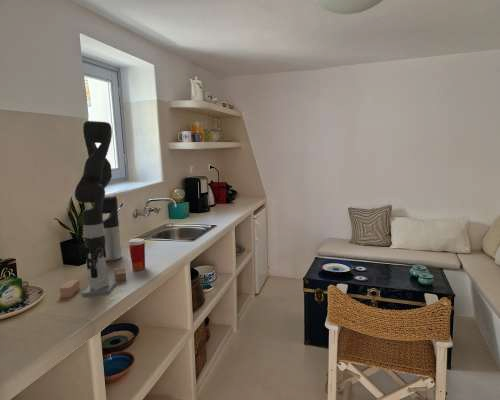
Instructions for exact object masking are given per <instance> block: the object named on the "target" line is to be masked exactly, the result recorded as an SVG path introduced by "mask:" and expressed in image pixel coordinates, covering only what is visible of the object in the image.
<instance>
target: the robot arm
mask: <svg viewBox="0 0 500 400" xmlns="http://www.w3.org/2000/svg"><path fill="white" fill-rule="evenodd" d="M112 129H113V128H112V126H111V124H110V122H107V121H97V120H86V121H85V122H84V123H83V127H82V131H83V132H82V133H83V138H84V142H85V146H86V151H87V159H86V160H85V163H84V168H83V174H82V175H81V178H80V180H79V182H78V183H77V184H76V187H75V191H74V198H75V200H76V201H77V202H78V203H80V204H88V203H90V204H91V203H93V205H94V206H93V207H88V208H85V209H84V210H82V221H83V240H84V247H85V248H86V249H89V253H86V255H85V257H86V260H87V264H86V268H87V269H90V270H91V278H97V277H98V274H97V263H99V258H100V257H101V256H102V257H105V260H106V261H108V262H110V261H117V260H120V259H121V258H122V257H123V255H122V244H121V234H120V225H119V224H120V222H119V221H120V220H119V209H118V208H119V206H118V198H117V196H116V195H114V194H111V195H110V194H109V195H106V189H105V188H106V187H107V186H108V185H109V184H110V182H111V180H112V178H113V174H112V166H111V163H110V161H109V160H108V158H107V155H108V153H109V149H110V144H111V142H112V137H113V130H112ZM97 144H99V146H97ZM104 214H110V215H109V216H108V217H107V218H105V219H104V218H103V215H104ZM94 260H95V261H94ZM89 263H90V265H89ZM87 269H86V270H87Z"/></svg>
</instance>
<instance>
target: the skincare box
mask: <svg viewBox="0 0 500 400" xmlns="http://www.w3.org/2000/svg"><path fill="white" fill-rule="evenodd" d="M94 261H95V260H94ZM85 262H86V265H87V259H86V261H85ZM89 265H90V263H89ZM86 270H87V275H88V281H89V285H90V287H91V289H93V290H98V289H100V288H103V287H105V286H108V285H109V282H110V281H109V276H108V267H107V262H106V260H105V257H102V256H101V257H100V258H99V263H97V274H98V277H97V278H91V270H90V269H86Z"/></svg>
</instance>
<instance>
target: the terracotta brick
mask: <svg viewBox="0 0 500 400" xmlns="http://www.w3.org/2000/svg"><path fill="white" fill-rule="evenodd" d="M80 289H81V286H80V279H71V280H68V281H66V282H65V283H64V284H63V285H61V286H60V287H59V294H60V295H59V296H60V298H61V299H62V298H72V297H73V296H74V295H75V294H76V293H77V292H78V291H79V290H80Z"/></svg>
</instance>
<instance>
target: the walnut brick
mask: <svg viewBox="0 0 500 400" xmlns="http://www.w3.org/2000/svg"><path fill="white" fill-rule="evenodd" d="M113 271H114V277H115V279H114V280H115V282H116V284H118V283H124V282H127V274H126V273H127V272H126V270H125V267H124V266H123V267H116V268H114V270H113Z"/></svg>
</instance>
